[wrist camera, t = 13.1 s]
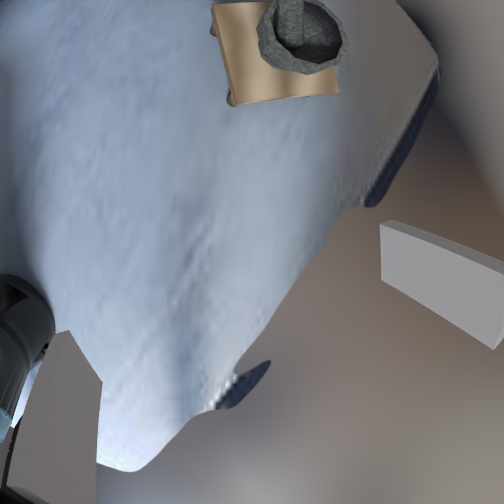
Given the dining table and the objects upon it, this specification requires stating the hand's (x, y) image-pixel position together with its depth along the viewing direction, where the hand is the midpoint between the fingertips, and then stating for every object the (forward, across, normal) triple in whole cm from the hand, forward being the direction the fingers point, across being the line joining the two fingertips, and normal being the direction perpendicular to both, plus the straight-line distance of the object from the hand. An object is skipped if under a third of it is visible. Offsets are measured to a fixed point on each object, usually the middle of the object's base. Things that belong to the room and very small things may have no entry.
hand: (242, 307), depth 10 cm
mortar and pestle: (+23, +15, +17) cm, 32 cm away
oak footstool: (+29, +16, +17) cm, 37 cm away
